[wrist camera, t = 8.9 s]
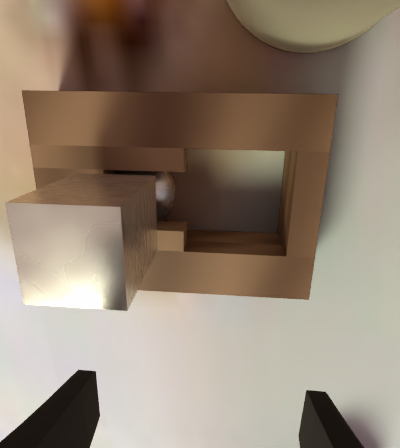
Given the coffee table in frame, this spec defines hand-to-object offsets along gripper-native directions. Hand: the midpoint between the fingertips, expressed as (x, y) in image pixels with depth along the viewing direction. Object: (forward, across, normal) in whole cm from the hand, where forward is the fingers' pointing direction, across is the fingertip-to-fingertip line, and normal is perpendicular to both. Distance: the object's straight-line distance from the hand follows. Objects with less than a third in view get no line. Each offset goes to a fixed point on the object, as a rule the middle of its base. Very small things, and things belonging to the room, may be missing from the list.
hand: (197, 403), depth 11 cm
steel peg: (+10, +4, -5) cm, 12 cm away
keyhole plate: (+10, +2, -5) cm, 11 cm away
